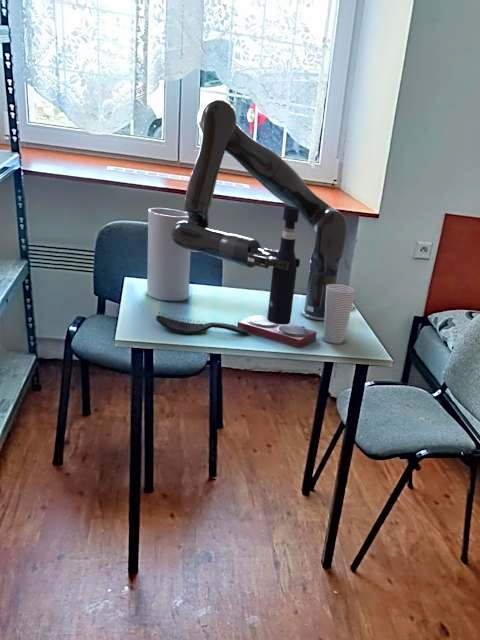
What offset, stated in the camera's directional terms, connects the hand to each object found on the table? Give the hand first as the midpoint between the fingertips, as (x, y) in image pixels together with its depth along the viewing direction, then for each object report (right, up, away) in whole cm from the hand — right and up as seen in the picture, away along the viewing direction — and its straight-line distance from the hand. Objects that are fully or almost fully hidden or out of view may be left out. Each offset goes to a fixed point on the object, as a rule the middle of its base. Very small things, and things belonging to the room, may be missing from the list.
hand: (293, 264), depth 175 cm
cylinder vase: (-42, 0, +32) cm, 53 cm away
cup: (+10, -17, +19) cm, 27 cm away
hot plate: (-6, -15, +16) cm, 23 cm away
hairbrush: (-26, -16, +8) cm, 32 cm away
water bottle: (-5, -13, +8) cm, 16 cm away
